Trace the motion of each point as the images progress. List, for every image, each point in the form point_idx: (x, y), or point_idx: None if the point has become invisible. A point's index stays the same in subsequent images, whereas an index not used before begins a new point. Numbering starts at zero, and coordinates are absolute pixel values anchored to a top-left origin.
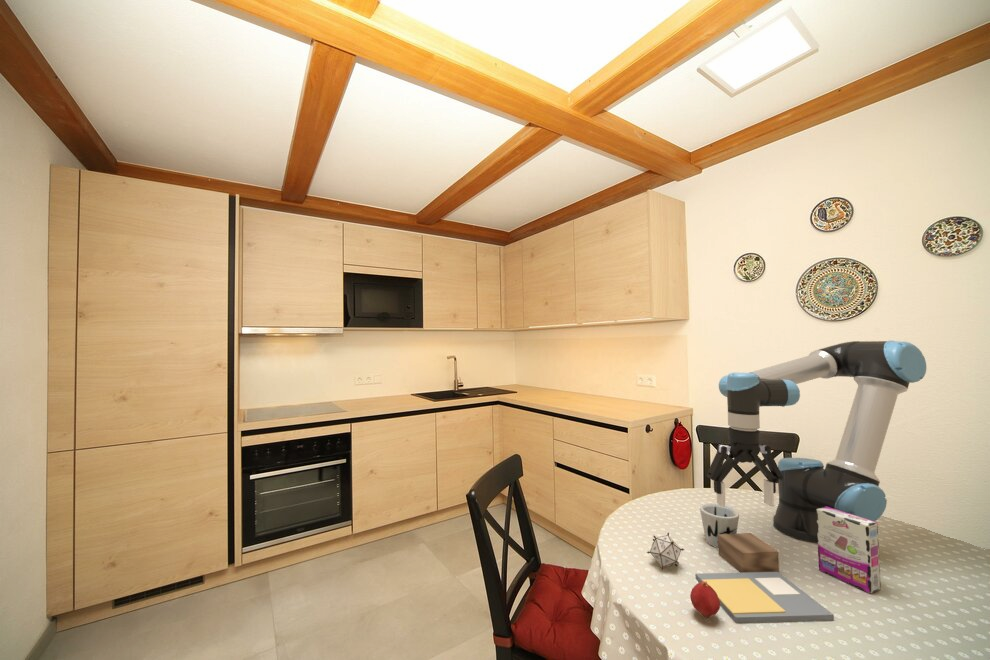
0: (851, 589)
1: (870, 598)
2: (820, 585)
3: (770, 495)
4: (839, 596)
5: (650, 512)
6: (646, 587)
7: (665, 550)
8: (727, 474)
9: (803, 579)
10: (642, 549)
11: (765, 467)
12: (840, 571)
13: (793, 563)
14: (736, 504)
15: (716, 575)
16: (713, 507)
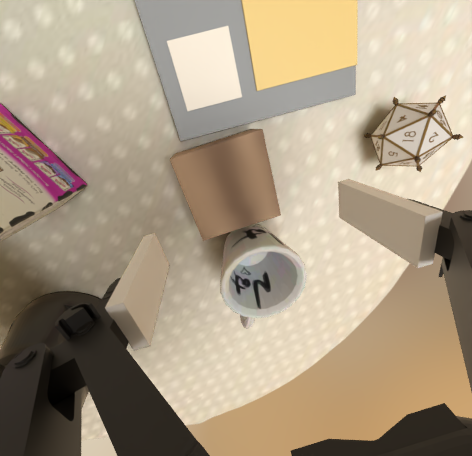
0: (40, 118)
1: (7, 85)
2: (103, 121)
3: (145, 258)
4: (76, 80)
5: (326, 319)
6: (457, 38)
7: (433, 107)
8: (467, 252)
9: (132, 139)
10: (397, 187)
11: (120, 418)
12: (40, 152)
13: (132, 201)
14: (166, 386)
15: (316, 95)
16: (263, 306)
